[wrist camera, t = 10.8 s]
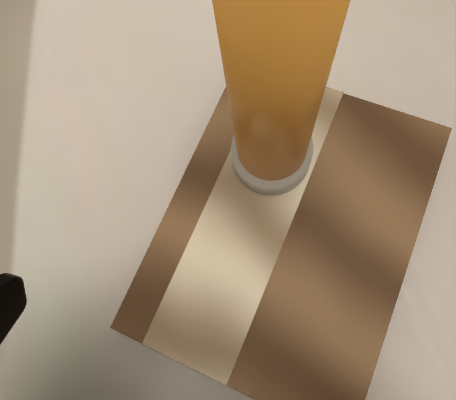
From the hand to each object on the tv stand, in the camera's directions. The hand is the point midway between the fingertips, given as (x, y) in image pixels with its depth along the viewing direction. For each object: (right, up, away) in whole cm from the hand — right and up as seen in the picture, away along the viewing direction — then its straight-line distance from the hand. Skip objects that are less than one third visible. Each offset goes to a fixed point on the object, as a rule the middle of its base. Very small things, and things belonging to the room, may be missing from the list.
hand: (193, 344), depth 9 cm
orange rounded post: (+3, +5, +11) cm, 13 cm away
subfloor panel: (+4, +2, +11) cm, 12 cm away
